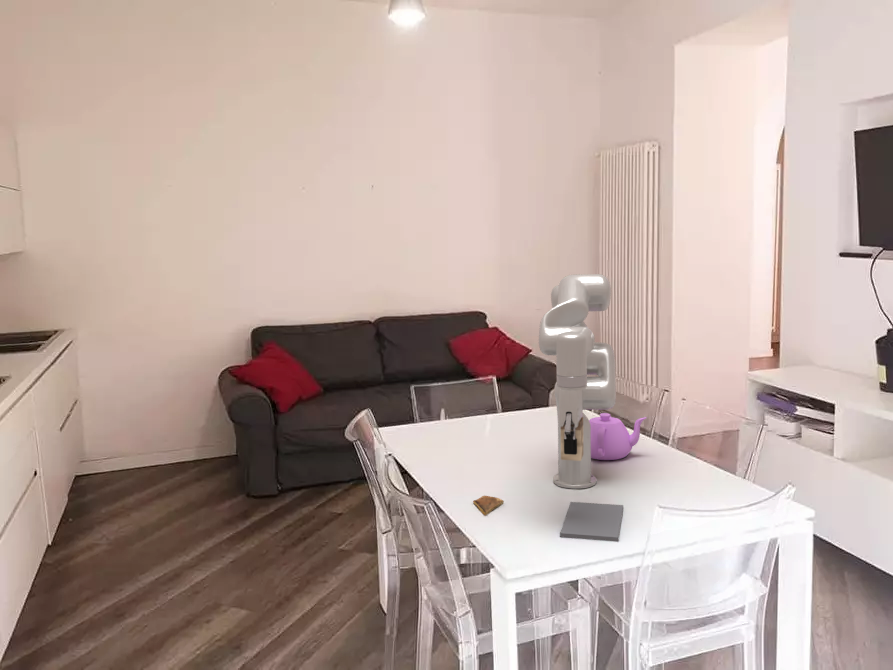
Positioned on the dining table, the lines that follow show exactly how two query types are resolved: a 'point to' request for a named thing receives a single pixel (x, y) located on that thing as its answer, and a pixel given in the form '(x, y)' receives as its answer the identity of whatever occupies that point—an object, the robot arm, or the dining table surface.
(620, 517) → the mat
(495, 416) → the dining table surface
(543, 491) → the dining table surface
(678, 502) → the dining table surface
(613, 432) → the teapot
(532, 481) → the dining table surface
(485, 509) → the shard
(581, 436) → the maple block
